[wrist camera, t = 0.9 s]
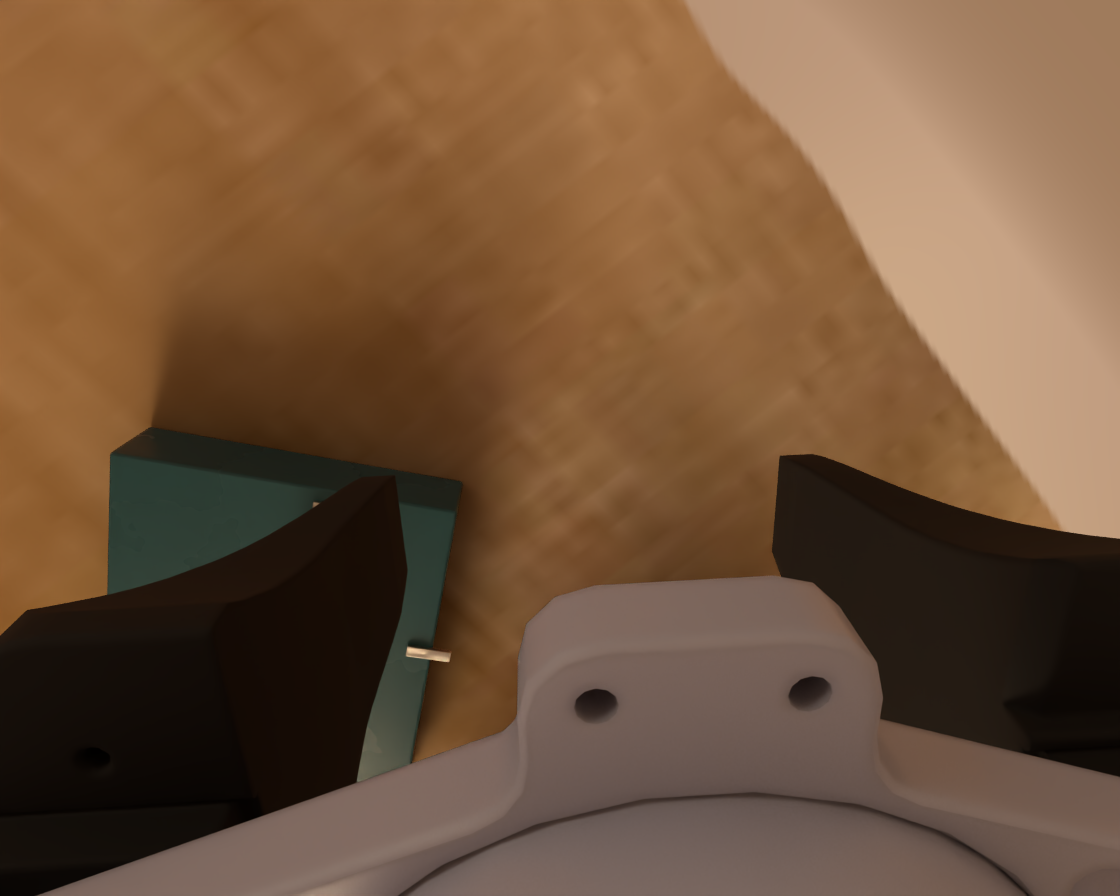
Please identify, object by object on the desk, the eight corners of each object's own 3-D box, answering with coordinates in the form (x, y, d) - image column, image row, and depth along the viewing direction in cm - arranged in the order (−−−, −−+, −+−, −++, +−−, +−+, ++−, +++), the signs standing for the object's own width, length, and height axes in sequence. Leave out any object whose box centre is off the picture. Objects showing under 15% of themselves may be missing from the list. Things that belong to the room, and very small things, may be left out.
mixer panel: (427, 770, 29) (418, 826, 26) (137, 732, 28) (99, 787, 25) (481, 484, 25) (476, 517, 22) (149, 425, 24) (105, 454, 21)
